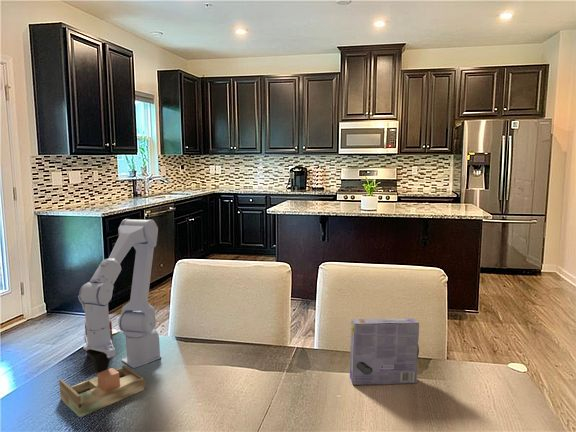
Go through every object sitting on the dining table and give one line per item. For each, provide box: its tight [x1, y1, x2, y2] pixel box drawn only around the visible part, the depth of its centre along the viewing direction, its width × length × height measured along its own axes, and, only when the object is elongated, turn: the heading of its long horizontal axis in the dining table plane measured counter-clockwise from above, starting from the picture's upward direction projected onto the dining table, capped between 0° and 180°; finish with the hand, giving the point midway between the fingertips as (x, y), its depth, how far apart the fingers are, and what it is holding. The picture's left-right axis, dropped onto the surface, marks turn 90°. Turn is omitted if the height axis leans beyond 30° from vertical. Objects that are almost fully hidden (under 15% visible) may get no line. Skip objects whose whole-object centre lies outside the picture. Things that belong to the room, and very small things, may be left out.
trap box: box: [58, 364, 147, 418], centre depth 117 cm, size 18×12×5 cm
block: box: [96, 367, 120, 392], centre depth 116 cm, size 4×4×4 cm
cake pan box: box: [349, 317, 420, 386], centre depth 122 cm, size 19×5×18 cm, turn 94°
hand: (101, 374), depth 119 cm, fingers closed
